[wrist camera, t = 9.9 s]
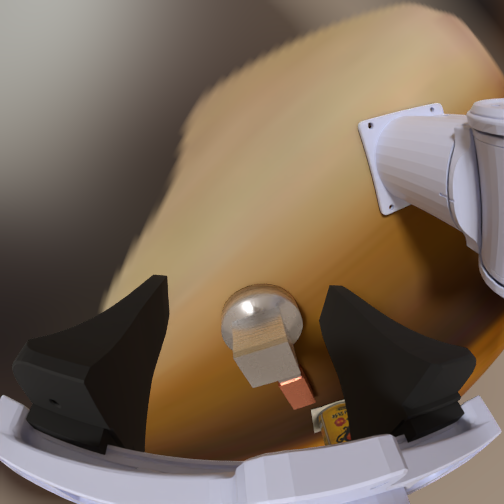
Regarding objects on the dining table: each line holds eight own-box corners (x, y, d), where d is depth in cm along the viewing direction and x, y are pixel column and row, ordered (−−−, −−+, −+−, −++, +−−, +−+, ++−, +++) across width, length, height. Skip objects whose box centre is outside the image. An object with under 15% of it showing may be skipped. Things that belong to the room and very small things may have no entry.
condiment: (359, 393, 32) (387, 461, 21) (356, 418, 36) (377, 476, 25) (310, 408, 32) (329, 481, 22) (314, 431, 36) (329, 492, 25)
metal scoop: (208, 301, 23) (205, 333, 19) (283, 271, 23) (294, 300, 19) (275, 402, 31) (280, 428, 27) (328, 384, 30) (337, 410, 26)
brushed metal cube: (291, 338, 23) (300, 373, 19) (249, 352, 24) (252, 387, 20) (278, 306, 22) (287, 341, 18) (232, 321, 22) (233, 358, 18)
